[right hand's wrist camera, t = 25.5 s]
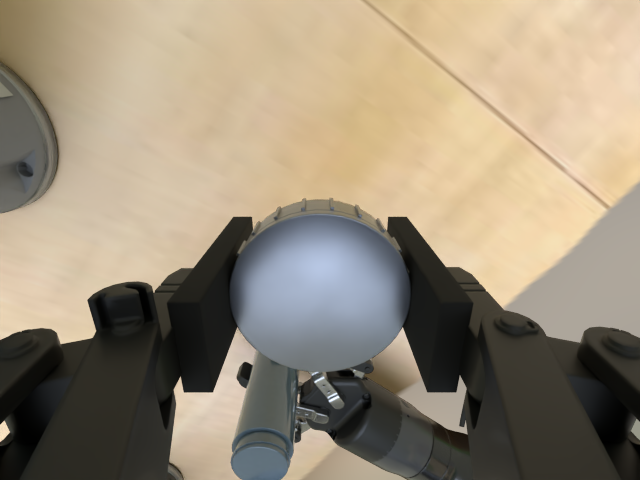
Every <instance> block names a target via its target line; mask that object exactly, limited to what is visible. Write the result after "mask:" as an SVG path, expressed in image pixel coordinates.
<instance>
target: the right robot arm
mask: <svg viewBox="0 0 640 480" xmlns="http://www.w3.org/2000/svg"><path fill="white" fill-rule="evenodd" d="M57 157H58V154H57V143H56V138H55V134H54V131H53V128H52V125H51V122H50V120H49V118H48V115H47V114H46V112H45V110H44V108H43V106H42V105H41V103H40V101H39V100H38V98H37V97H36V96H35V94H34V93H33V92H32V90H31V89H30V88H29V87H28V86H27V85H26V84H25V83H24V81H23V80H22V79H21V78H20V77H19V76H17V75H16V74H15V73H14V72H13V71H12V70H10V69H9V68H8V67H7V66H5V65H4V64H3V63H1V62H0V213H5V212H8V211H12V210H15V209H18V208H21V207H23V206H26V205H28V204H30V203H32V202H34V201H36V200H37V199H38V198H40V197H41V196H42V195H43V194H44V193H45V192H46V190H47V189H48V188H49V186H50V184H51V183H52V180H53V178H54V175H55V172H56V167H57ZM252 231H253V224H252V217H233V218H232V220H231V221H230V222H229V223H228V225H227V226H226V227H225V229H224V230H223V231H222V232H221V234H220V235H219V236H218V238H217V239H216V240H215V241H214V243H213V244H212V245H211V246H210V248H209V249H208V250H207V252H206V253H205V254H204V255H203V257H202V258H201V259H200V261H199V262H198V263H197V264H196V266H195V267H194V268H181V269H179V270H178V271H176V272H174V273H172V274H171V275H169V276H168V277H167V278H166V279H165V280H164V281H163V282H162V284H161V286H159V287H158V288H157V289H156V290H155V293H153V289H152V286H150V285H149V284H147V283H143V282H125V283H120V284H115V285H112V286H109V287H107V288H104V289H102V290H100V291H98V292H96V293H95V294H93V295H92V296H91V297H90V298H89V299H88V304H89V307H90V311H91V314H92V317H93V321H94V324H95V328H96V333H95V335H94V337H93V338H91V339H86V340H81V341H76V342H71V343H65V344H60V341H59V338H58V336H57V333H56V332H55V331H53V330H52V329H44V328H40V329H32V330H30V329H29V330H24V331H22V332H17V333H14V334H12V335H10V336H8V337H6V338H4V339H2V340H0V424H1V423H2V422H3V421H4V420H5V422H6V424H7V426H8V429H9V431H10V433H9V434H8V435H7V436H6V438H5V439H4V440H2V441H1V442H0V480H167V473H168V465H169V457H170V449H171V441H172V433H173V425H174V417H175V409H176V400H175V395H174V388H175V386H176V384H177V382H178V380H179V378H180V376H181V380H182V385H183V390H184V392H213V390H214V388H215V385H216V382H217V380H218V377H219V374H220V372H221V369H222V366H223V364H224V361H225V358H226V356H227V353H228V350H229V348H230V345H231V342H232V340H233V337H234V334H235V332H236V329H237V325H236V323H235V320H234V318H233V315H232V312H231V308H230V300H229V281H230V277H231V272H232V270H233V267H234V264H235V262H236V260H237V258H238V256H236V254H237V252H238V251H239V249H240V247H241V245H242V244H243V242H244V240H245V241H247V240H248V238H249V236H250V235H251V233H252ZM387 232H388V233H389V235H390V236H391V238H393V237H394V238H395V240H396V241H397V243H398V245H399V247H400V249H401V250H402V252H400V254H401V256H402V258H403V260H404V262H405V264H406V266H407V268H408V270H409V272H410V274H409V275H410V281H411V302H410V309H409V312H408V316H407V319H406V321H405V323H404V325H403V328H404V331H405V334H406V336H407V339H408V342H409V344H410V347H411V350H412V352H413V355H414V358H415V360H416V363H417V366H418V368H419V371H420V374H421V376H422V379H423V382H424V384H425V387H426V390H427V392H456V391H457V386H458V381H459V376H461V378H462V380H463V382H464V383H465V385H466V387H467V390H466V395H465V400H464V404H463V409H462V414H461V419H460V425H459V426H461V427H464V425H465V420H466V424H467V432H468V440H469V448H470V456H471V464H472V472H473V480H640V440H639V439H638V438H637V437H636V436H635V435H634V434H633V433H632V432H631V429H632V427H633V425H634V423H635V421H636V419H638V420H639V421H640V338H638V337H636V336H634V335H631V334H630V333H628V332H626V331H622V330H621V331H620V330H619V329H615V328H605V327H592V328H589V329H587V330H585V331H584V334H583V336H582V339H581V342H580V343H577V342H572V341H567V340H562V339H557V338H551V337H547V336H546V334H545V332H544V331H543V329H542V328H541V327H540V326H539V325H538V324H537V323H536V322H534V321H533V320H531V319H530V318H528V317H525V316H523V315H520V314H518V313H514V312H510V311H504V310H503V308H502V307H501V306H500V305H499V304H498V303H497V302H496V301H495V300H494V298H493V297H492V296H491V295H490V294H489V293H488V292H486V290H485V289H484V287H483V286H482V285H481V284H479V282H478V281H477V280H476V279H475V277H474V276H473V275H472V274H470V273H468V272H467V271H465V270H463V269H461V268H460V267H445V265H444V264H443V263H442V262H441V260H440V259H439V258H438V256H437V255H436V254H435V253H434V251H433V250H432V249H431V247H430V246H429V245H428V244H427V242H426V241H425V240H424V239H423V237H422V236H421V235H420V233H419V232H418V231H417V230H416V228H415V227H414V226H413V224H412V223H411V222H410V221H409V219H408V218H407V217H388V227H387Z"/></svg>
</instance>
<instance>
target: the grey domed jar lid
mask: <svg viewBox="0 0 640 480" xmlns="http://www.w3.org/2000/svg"><path fill="white" fill-rule="evenodd" d="M400 252H402V250H401V249H400V247H399V245H398V243H397V241H396V240H395V238H394V237H393V238H391V236H390V235H389V233H388V232H387V230H386V229H385V228H384V226H383V225H382V223H381V221H380V219H377V220H376V219H375V218H373V217H372V216H371V215H370V214H368V213H366V212H365V211H363V210H361V209H360V208H359V206H358V205H355V206H352V205H350V204H346V203H343V202H339V201H333V198H330V200H307V201H306V198H305V199H303V200H302V202H297V203H293V204H291V205H288V206H286V207H283V208H281V207H278V208H277V210H276V212H274V213H272V214H271V215H269V216H268V217H267V218H265V219H264V220H263V221H262V222H260V221H258V222H257V224H256V226H255V228H254V229H253V231H252V233H251V235H250V236H249V238H248V240H247V241H245V240H244V242H243V244H242V245H241V247H240V249H239V251H238V252H237V254H236V256H238V258H237V260H236V262H235V264H234V267H233V270H232V272H231V277H230V281H229V300H230V308H231V312H232V315H233V318H234V320H235V323H236V325H237V327H238V328H239V330H240V332H241V333H242V335H243V336H244V337H245V338H246V340H247V341H248V342H249V343H250V344H251V345H252V346H253V347H254V348H255V349H256V350H258V351H259V352H260V353H261V354H263V355H264V356H266V357H267V358H269V359H271V360H272V361H275V362H277V363H279V364H281V365H284V366H287V367H289V368H293V369H297V370H302V371H309V372H331V371H338V370H343V369H347V368H351V367H354V366H357V365H359V364H361V363H364V362H366V361H368V360H369V359H371V358H373V357H375V356H376V355H377V354H379V353H380V352H382V351H383V350H384V349H385V348H386V347H387V346H388V345H389V344H390V343H391V342H392V341H393V340H394V339H395V338H396V336H397V335H398V333H399V332H400V330H401V329H402V327H403V325H404V323H405V321H406V319H407V316H408V312H409V309H410V302H411V281H410V275H409V274H410V272H409V270H408V268H407V266H406V264H405V262H404V260H403V258H402V256H401V254H400Z"/></svg>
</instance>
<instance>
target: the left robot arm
mask: <svg viewBox="0 0 640 480" xmlns="http://www.w3.org/2000/svg"><path fill="white" fill-rule="evenodd" d="M251 369H252V365H251V364H249V363H247V362H244V363H243V364H242V365H241V366H240V368H239V371H238V374H237V380H238V381H239V383H240V384H241V386H243V387H244V388H247V384H248V380H249V376H250V373H251ZM373 369H374V368H373V363H372V358H371V359H369V360H368V361H366V362H364V363H361V364H359V365H357V366H354V367H351V368H349V369H348V368H347V369H343V370H338V371H331V372H309V371H308V372H309V373H310V375H311V376H312V377H311V379H309V380H308V381H306V382H305V383H302V382H299V383H298V394H300V399H299V403H298V402H297V410H296V424H295V438H294V443H297V442H299V441H300V440H301V433H303V432H305V431H306V430H308V429H310V428H312V429H314V430H321V431H325V432H327V433H328V434H329V435H330V437H331V438H332V439H333V441H334V442H335V443H336V444H337V445H338V446H340V447H342V448H344V449H346V450H348V451H350V452H352V453H353V454H355V455H357V456H359V457H361V458H363V459H364V460H366V461H368V462H370V463H372V464H374V465H376V466H378V467H379V468H381V469H383V470H385V471H388V472H391V473H394V474H397V475H399V476H402V477H403V478H405V479H407V480H473V472H472V464H471V456H470V448H469V440H468V435H467V434H464V433H460V432H455V431H451V430H448V429H446V428H444V427H443V426H442V425H440V424H438V423H437V422H435V421H433V420H432V419H430V418H428V417H427V416H425V415H424V414H422V413H421V412H419V411H418V410H417V409H416V408H415V407H413V406H412V405H411V404H410V403H408V402H406V401H405V400H403V399H401V398H400V397H398V396H397V395H395V394H393V393H392V392H390V391H389V390H387V389H385V388H384V387H382V386H380V385H379V384H377V383H375V382H374V381H372V380H371V379H369V378H367V377H363V376H364V375H365V373H367V374H368V373H371V372H372V371H373ZM167 480H183V478H182V475H181V474H180V472H179V471H178V470H177V469H176V468H175V467H173V466H172V465H170V464H169V465H168V473H167Z"/></svg>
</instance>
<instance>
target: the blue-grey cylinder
mask: <svg viewBox="0 0 640 480" xmlns="http://www.w3.org/2000/svg"><path fill="white" fill-rule="evenodd" d="M298 383H299V370H297V369H293V368H289V367H287V366H284V365H281V364H279V363H277V362H275V361H272V360H271V359H269V358H267V357H266V356H264V355H263V354H261V353H260V352H259V351H258V350H256V353H255V357H254V361H253V365H252V369H251V373H250V376H249V380H248V384H247V388H246V392H245V396H244V400H243V404H242V408H241V412H240V416H239V420H238V424H237V428H236V432H235V435H234V439H233V443H232V452H233V454H232V457H231V466H232V469H233V471H234V473H235V474H236V475H237V476H238V477H239V478H240V479H242V480H281V479H282V478H283V477H284V476H285V475H286V473H287V471H288V468H289V465H290V461H291V460H290V459H291V457H292V455H293V451H294V438H295V424H296V410H297V396H298Z"/></svg>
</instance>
